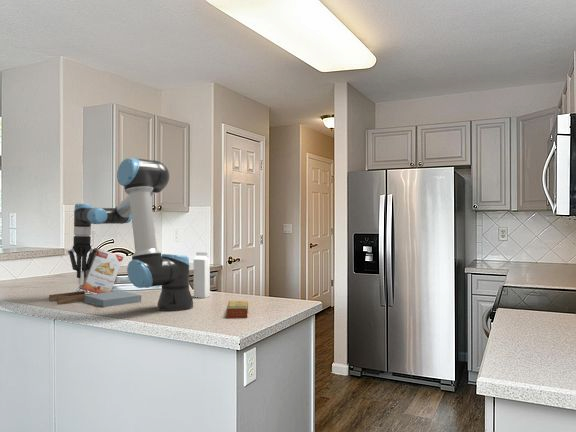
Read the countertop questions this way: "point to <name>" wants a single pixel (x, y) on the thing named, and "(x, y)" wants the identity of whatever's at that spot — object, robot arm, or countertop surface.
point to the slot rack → (68, 297)
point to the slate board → (112, 298)
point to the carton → (237, 309)
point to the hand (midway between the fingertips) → (80, 284)
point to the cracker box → (102, 272)
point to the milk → (201, 275)
